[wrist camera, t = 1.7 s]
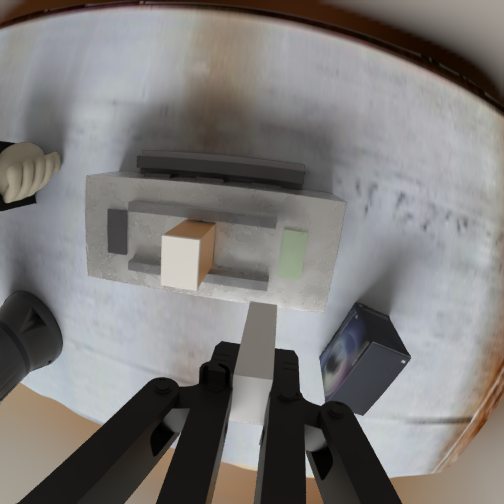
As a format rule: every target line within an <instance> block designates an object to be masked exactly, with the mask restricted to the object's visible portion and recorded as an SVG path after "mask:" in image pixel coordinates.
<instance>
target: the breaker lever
mask: <svg viewBox="0 0 504 504" xmlns="http://www.w3.org/2000/svg"><path fill="white" fill-rule="evenodd" d="M215 226H216V224H213V223H204V222H196V221H188V220H184V221H183V222H181V223H180V224H178V225H177V226H175V227H174V228H172V229H171V230H169V231H168V232H166V233H165V234H163V235H162V248H161V285H163V286H169V287H175V288H181V289H187V290H193V291H197V289H198V288H199V286H200V285H201V283H202V281H203V280H204V278H205V277H206V275H207V273H208V272H209V270H210V268H211V267H212V262H213V249H214V237H215Z"/></svg>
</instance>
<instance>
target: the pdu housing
mask: <svg viewBox="0 0 504 504" xmlns="http://www.w3.org/2000/svg"><path fill="white" fill-rule="evenodd" d="M345 206H346V202H345V201H343V200H342V199H340V198H339V197H337V196H336V195H334V194H331V193H325V192H319V191H312V190H305V189H295V188H288V187H281V184H275V183H267V182H259V181H254V182H252V183H248V182H240V181H231V180H228V178H224V177H214V176H198V177H189V176H178V173H167V172H149V173H140V172H124V171H117V172H109V173H102V174H94V175H87V176H86V198H85V222H86V253H87V269H88V276H93V277H98V278H103V279H108V280H113V281H118V282H123V283H128V284H133V285H139V286H144V287H150V288H155V289H161V290H167V291H172V292H178V293H184V294H190V295H196V296H202V297H209V298H215V299H222V300H228V301H235V302H242V303H249V304H250V301H253V302H260V303H268V304H275V305H277V307H278V308H286V309H294V310H303V311H311V312H320V313H324V312H325V308H326V303H327V299H328V295H329V290H330V285H331V281H332V276H333V271H334V266H335V261H336V256H337V251H338V246H339V241H340V235H341V230H342V224H343V218H344V212H345ZM184 220H188V221H196V222H204V223H213V224H216V226H215V237H214V249H213V262H212V267H211V268H210V270H209V272H208V273H207V275H206V277H205V278H204V280H203V281H202V283H201V285H200V286H199V288H198V289H197V291H193V290H187V289H181V288H175V287H169V286H163V285H161V248H162V235H163V234H165V233H166V232H168V231H169V230H171V229H172V228H174V227H175V226H177V225H178V224H180V223H181V222H183V221H184Z"/></svg>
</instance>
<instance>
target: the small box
mask: <svg viewBox="0 0 504 504" xmlns="http://www.w3.org/2000/svg"><path fill="white" fill-rule="evenodd" d="M319 359H320V365H321V372H322V380H323V387H324V395H325V403H326V402H329V401H339V402H343V403H345V404H346V405H348V406H349V407H350V408H351V410H352V411H353V413H355V414H359V415H362V416H363V415H364V414H365V413H366V412H367V411H368V410H369V409H370V408H371V407H372V405H373V404H374V403H375V402H376V401H377V400H378V399H379V398H380V396H381V395H382V394H383V393H384V392H385V391H386V389H387V388H388V387H389V386H390V385H391V383H392V382H393V381H394V380H395V378H396V377H397V376H398V375H399V373H400V372H401V371H402V370H403V368H404V367H405V366H406V365H407V363H408V362H409V361H410V359H411V356H410V354H409V353H408V352H407V350H406V348H405V346H404V344H403V342H402V340H401V338H400V337H399V335H398V333H397V331H396V329H395V328H394V326H393V324H392V322H391V320H390V318H389V316H387V315H384V314H382V313H379V312H377V311H375V310H373V309H371V308H369V307H367V306H365V305H362V304H359V303H357V302H356V303H355V304H354V306H353V307H352V309H351V311H350V312H349V314H348V315H347V317H346V318H345V320H344V321H343V323H342V325H341V326H340V328H339V329H338V331H337V332H336V334H335V335H334V337H333V338H332V340H331V341H330V343H329V344H328V346H327V347H326V348H325V350H324V351H323V353H322V354H321V356H320V357H319Z"/></svg>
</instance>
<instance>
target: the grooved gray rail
mask: <svg viewBox="0 0 504 504" xmlns="http://www.w3.org/2000/svg"><path fill="white" fill-rule="evenodd" d="M137 167H138V168H141V171H140V173H149V172H167V173H178V176H189V177H198V176H214V177H224V178H228V180H231V181H240V182H248V183H252V182H254V181H259V182H267V183H275V184H281V187H288V188H295V189H302V184H303V182H304V174H305V172H304V168H305V165H301V164H294V163H287V162H279V161H272V160H264V159H255V158H246V157H236V156H226V155H215V154H202V153H188V152H172V151H151V150H142V156H138V157H137Z"/></svg>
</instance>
